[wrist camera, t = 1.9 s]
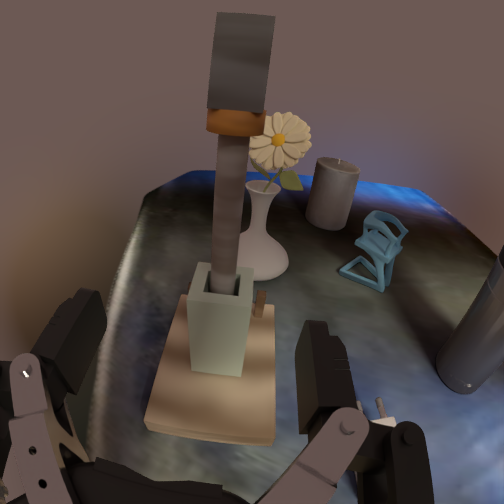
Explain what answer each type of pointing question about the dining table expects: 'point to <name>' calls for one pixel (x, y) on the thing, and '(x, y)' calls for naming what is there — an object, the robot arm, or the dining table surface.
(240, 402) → the post
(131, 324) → the dining table surface
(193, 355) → the square hollow tube
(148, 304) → the dining table surface
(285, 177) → the flower in vase
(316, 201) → the pillar candle
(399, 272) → the dining table surface
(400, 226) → the chair
